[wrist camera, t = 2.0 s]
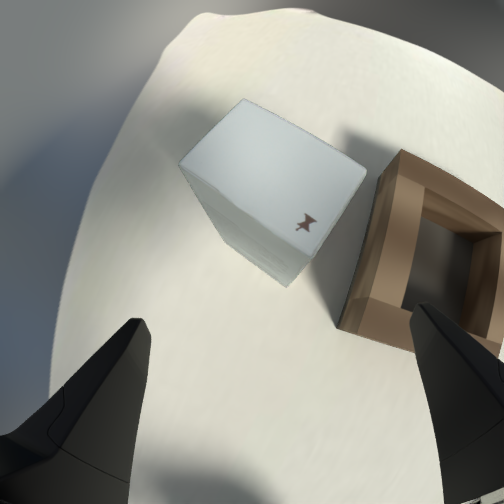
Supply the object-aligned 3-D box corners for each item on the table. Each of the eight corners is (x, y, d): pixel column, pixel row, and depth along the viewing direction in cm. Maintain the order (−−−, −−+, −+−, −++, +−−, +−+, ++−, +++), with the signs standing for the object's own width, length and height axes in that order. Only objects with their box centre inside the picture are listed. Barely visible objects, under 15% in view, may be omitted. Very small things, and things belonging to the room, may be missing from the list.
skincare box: (319, 243, 21) (374, 171, 9) (286, 289, 21) (312, 265, 9) (255, 198, 22) (242, 93, 10) (221, 241, 21) (171, 166, 10)
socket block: (458, 365, 18) (493, 373, 13) (336, 328, 20) (356, 334, 15) (485, 232, 20) (516, 218, 15) (378, 178, 22) (401, 148, 17)
